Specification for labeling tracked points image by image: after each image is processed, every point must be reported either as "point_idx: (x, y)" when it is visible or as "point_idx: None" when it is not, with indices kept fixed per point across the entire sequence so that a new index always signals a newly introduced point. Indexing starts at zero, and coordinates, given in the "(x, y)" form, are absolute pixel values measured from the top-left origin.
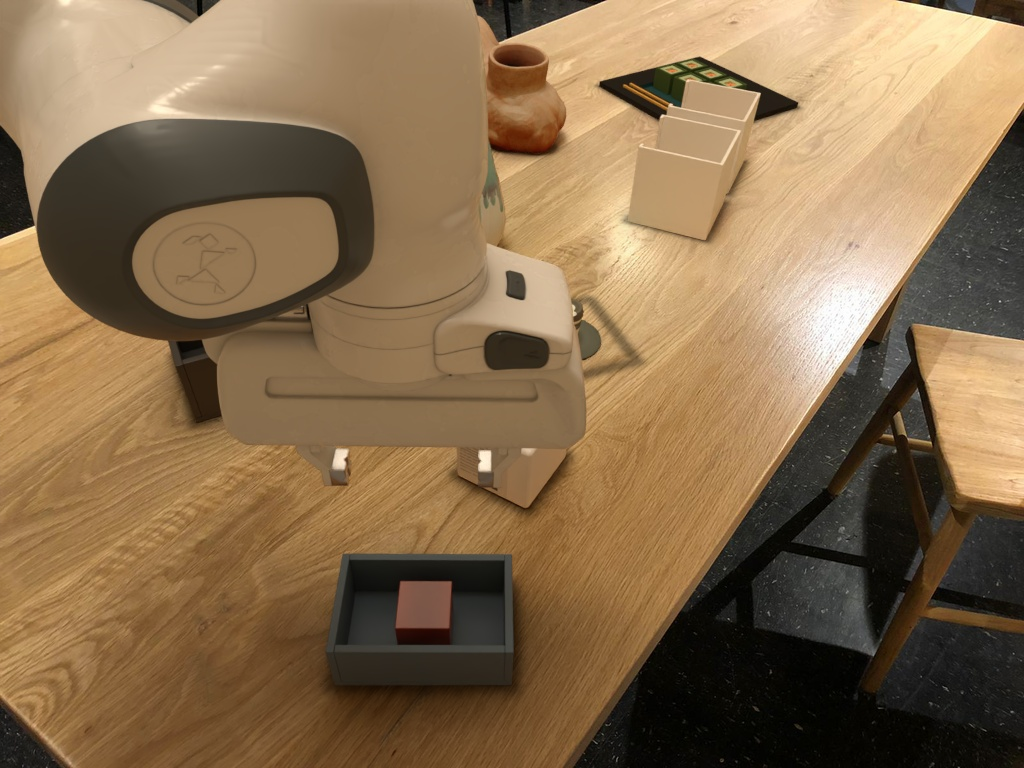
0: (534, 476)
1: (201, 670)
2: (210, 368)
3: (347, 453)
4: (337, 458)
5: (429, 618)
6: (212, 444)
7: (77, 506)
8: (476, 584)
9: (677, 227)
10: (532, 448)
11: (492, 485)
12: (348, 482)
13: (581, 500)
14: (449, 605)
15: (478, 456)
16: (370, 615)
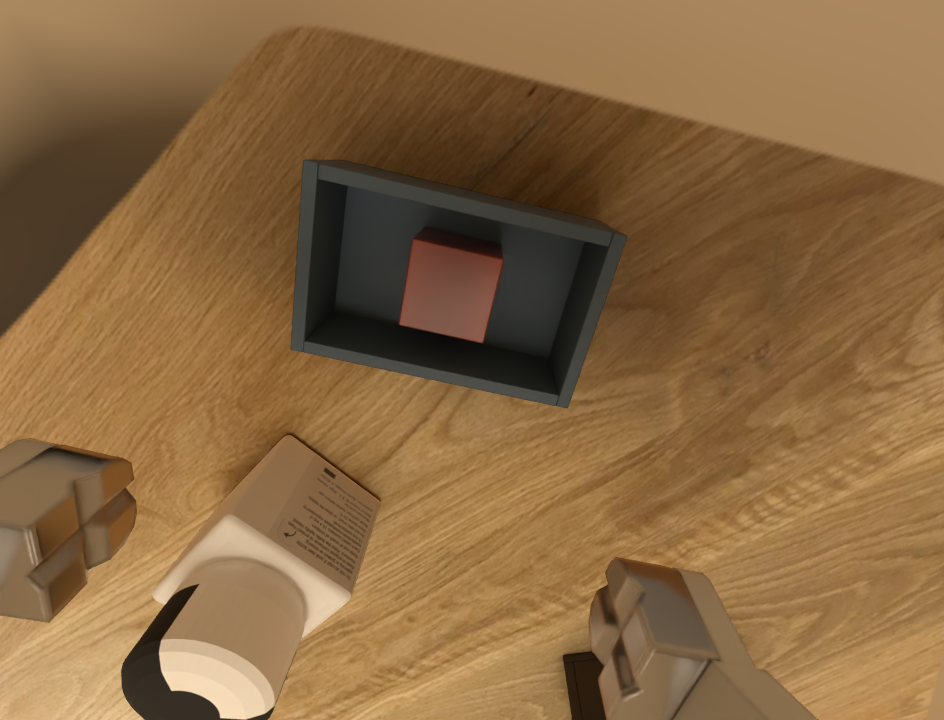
0: (251, 478)
1: (777, 287)
2: None
3: (618, 708)
4: (665, 697)
5: (444, 264)
6: None
7: (882, 553)
8: (369, 326)
9: None
10: (220, 527)
11: (42, 452)
12: (614, 570)
13: (208, 430)
14: (407, 281)
15: (45, 596)
16: (533, 316)
